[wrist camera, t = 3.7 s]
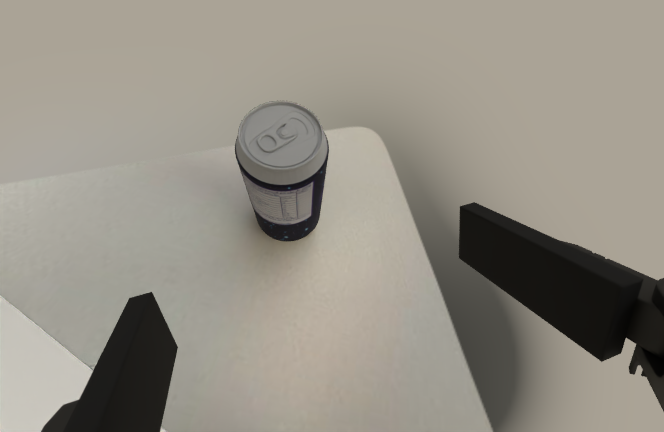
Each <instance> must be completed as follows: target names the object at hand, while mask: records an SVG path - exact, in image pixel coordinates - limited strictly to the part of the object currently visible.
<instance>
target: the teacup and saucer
mask: <svg viewBox="0 0 664 432" xmlns="http://www.w3.org/2000/svg"><path fill="white" fill-rule="evenodd" d="M92 372H93V370H91V369H90V368H89V367H88V366H87V365H85V364H84V363H83V362H82V361H80V360H79V359H78V358H77V357H76V356H74V355H73V354H72V353H71V352H69V351H68V350H67V349H66V348H65V347H63V346H62V345H61V344H60V343H58V342H57V341H56V340H55V339H54V338H52V337H51V336H50V335H49V334H47V333H46V332H45V331H44V330H42V329H41V328H40V327H39V326H38V325H36V324H35V323H34V322H33V321H31V320H30V319H29V318H28V317H27V316H25V315H24V314H23V313H22V312H20V311H19V310H18V309H17V308H16V307H14V306H13V305H12V304H11V303H9V302H8V301H7V300H6V299H4V298H3V297H2V296H1V295H0V432H41V430H42V429H43V427H44V425H45V424H46V423H47V422H48V421H49V420H50V419H51V418H52V416H53V415H54V414H55V413H56V412H57V411H58V410H59V409H60V408H61V406H62V405H64V404H67V403H70V402H73V401H76V400H79V399H80V397H81V395H82V393H83V391H84V389H85V387H86V385H87V382H88V380H89V378H90V376H91V374H92ZM160 432H167V431H166V430H165V429H164V428H163V427H161V429H160Z"/></svg>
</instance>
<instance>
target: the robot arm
mask: <svg viewBox="0 0 664 432" xmlns="http://www.w3.org/2000/svg"><path fill="white" fill-rule="evenodd" d="M459 258H460V259H461V260H462V261H464V262H465V263H467V264H468V265H470V266H471V267H472V268H474V269H475V270H476V271H478V272H479V273H480V274H482V275H483V276H484V277H486V278H487V279H489V280H490V281H491V282H493V283H494V284H496V285H497V286H498V287H500V288H501V289H502V290H504V291H505V292H507V293H508V294H509V295H511V296H512V297H514V298H515V299H516V300H518V301H519V302H520V303H522V304H523V305H524V306H526V307H527V308H529V309H530V310H531V311H533V312H534V313H535V314H537V315H538V316H540V317H541V318H542V319H544V320H545V321H547V322H548V323H549V324H551V325H552V326H553V327H555V328H556V329H558V330H559V331H560V332H562V333H563V334H565V335H566V336H567V337H568V338H570V339H571V340H573V341H574V342H575V343H577V344H578V345H579V346H581V347H582V348H584V349H585V350H586V351H588V352H589V353H590V354H592V355H593V356H595V357H596V358H598V359H599V360H600V361H604V360H606V359H609V358H611V357H613V356H616V355H618V354H620V353H621V352H622V348H623V345H624V342H625V338H628V339H630V340H631V341H633V342H634V343H636V347H635V350H634V354H633V356H632V360H631V363H630V366H629V372H630V374H635V372H636V369H637V366H638V365H641V367H642V368H643V371H642V374H641V375H642V376H645V377H647V379H648V381H649V383H650V385H651V387H652V389H653V391H654V393H655V395H656V397H657V399H658V401H659V403H660V405H661V407H662V409H663V411H664V278H663V279H660V280H659V281H658V280H655V279H653V278H651V277H648V276H646V275H644V274H642V273H639V272H637V271H635V270H632V269H630V268H628V267H626V266H623V265H621V264H619V263H616V262H614V261H612V260H610V259H605V257H603V256H601V255H598V254H596V253H594V254H593V253H592V251H589V250H587V249H585V248H583V247H580V246H578V245H575V244H571V243H567V242H563V241H559V240H557V239H554V238H552V237H550V236H548V235H545V234H543V233H541V232H539V231H537V230H534V229H532V228H530V227H528V226H526V225H523V224H521V223H519V222H517V221H514V220H512V219H510V218H508V217H506V216H503V215H501V214H499V213H497V212H494V211H492V210H490V209H488V208H486V207H483V206H481V205H479V204H477V203H471V204H467V205H464V206H460V237H459ZM177 348H178V347H177V344H176V342H175V340H174V338H173V336H172V334H171V332H170V330H169V327H168V325H167V323H166V321H165V319H164V317H163V315H162V312H161V310H160V308H159V306H158V304H157V302H156V300H155V297H154V295H153V293H152V292H150V293H146V294H143V295H139V296H136V297H132V298H129V300H128V302H127V304H126V306H125V308H124V310H123V312H122V314H121V316H120V318H119V320H118V322H117V324H116V326H115V328H114V330H113V332H112V334H111V336H110V338H109V340H108V342H107V344H106V346H105V348H104V350H103V352H102V354H101V356H100V358H99V360H98V362H97V364H96V366H95V368H94V370H93V372H92V374H91V376H90V378H89V380H88V382H87V385H86V387H85V389H84V391H83V393H82V395H81V397H80V399H79V400H76V401H73V402H70V403H67V404H64V405H62V406H61V408H60V409H59V410H58V411H57V412H56V413H55V414H54V415H53V416H52V418H51V419H50V420H49V421H48V422H47V423H46V424H45V425H44V427H43V429H42V430H41V432H160V429H161V424H162V419H163V414H164V410H165V405H166V400H167V396H168V391H169V386H170V381H171V377H172V372H173V367H174V363H175V358H176V353H177Z"/></svg>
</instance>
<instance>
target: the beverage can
mask: <svg viewBox="0 0 664 432" xmlns="http://www.w3.org/2000/svg"><path fill="white" fill-rule="evenodd" d="M328 153H329V146H328V140H327V137H326V135H325V133H324V131H323V128H322V125H321V123H320V121H319V119H318V118H317V116H315V114H314V113H313V112H311V111H310V110H309V109H308V108H306V107H304V106H302V105H300V104H297V103H294V102H289V101H272V102H267V103H264V104H262V105H259V106H257V107H255V108H254V109H252V110H251V111H250V112H249V113H248V114H247V115H246V116H245V117H244V119H243V120H242V122H241V124H240V126H239V131H238V137H237V139H236V144H235V154H236V158H237V161H238V164H239V167H240V170H241V173H242V176H243V179H244V182H245V185H246V188H247V191H248V194H249V197H250V200H251V203H252V206H253V209H254V212H255V215H256V218H257V221H258V224H259V226H260V227H261V229H262V230H263V231H264V232H265V233H266V234H267V235H268V236H270V237H272V238H274V239H277V240H280V241H295V240H298V239H301V238H303V237H305V236H307V235H308V234H309V233H310V232H312V230H313V229H314V228H315V227H316V225H317V223H318V220H319V216H320V209H321V202H322V195H323V188H324V181H325V174H326V167H327V160H328Z"/></svg>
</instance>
